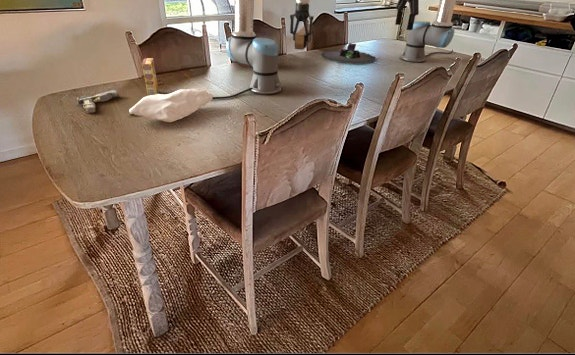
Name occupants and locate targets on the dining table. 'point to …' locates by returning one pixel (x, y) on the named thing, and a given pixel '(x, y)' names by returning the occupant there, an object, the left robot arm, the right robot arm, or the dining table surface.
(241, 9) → the left robot arm
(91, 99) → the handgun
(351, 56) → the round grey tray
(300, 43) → the bar
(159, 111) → the crumpled cloth
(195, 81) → the dining table surface
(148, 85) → the candy box
